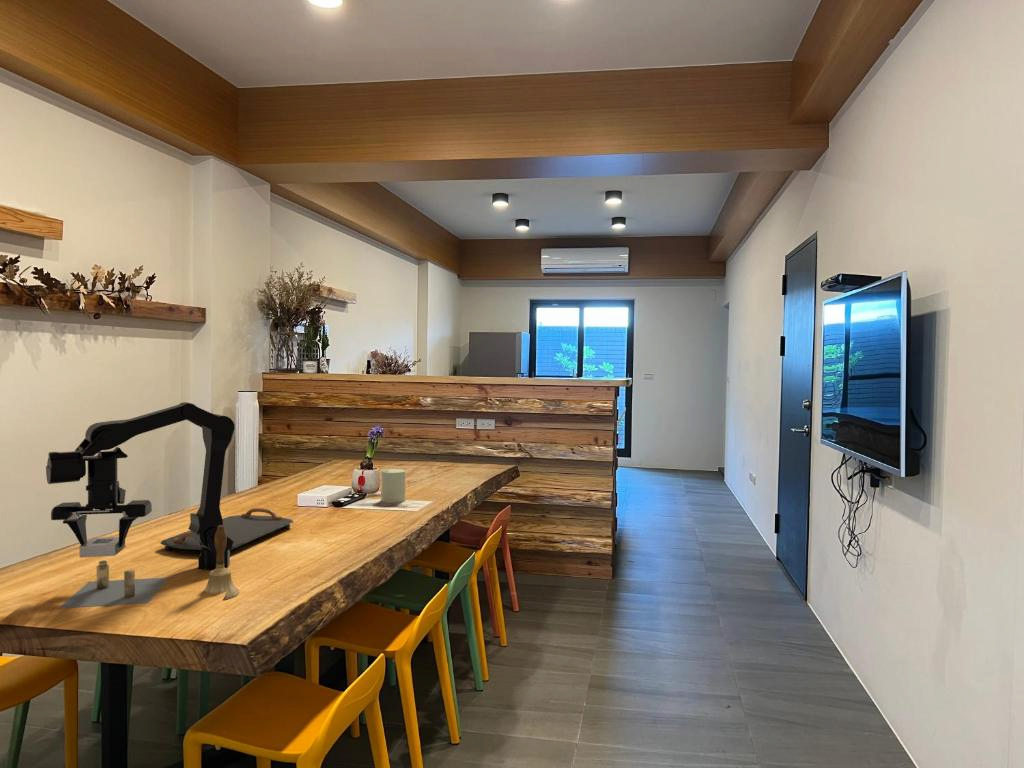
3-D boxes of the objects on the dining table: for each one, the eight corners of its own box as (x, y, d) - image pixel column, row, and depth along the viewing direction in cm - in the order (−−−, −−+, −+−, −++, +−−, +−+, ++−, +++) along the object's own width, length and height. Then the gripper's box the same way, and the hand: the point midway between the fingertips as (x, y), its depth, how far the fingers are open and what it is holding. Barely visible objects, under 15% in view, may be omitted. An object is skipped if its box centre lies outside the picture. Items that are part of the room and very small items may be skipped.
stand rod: (136, 594, 147) (136, 569, 147) (133, 597, 145) (133, 572, 145) (126, 595, 147) (125, 570, 146) (123, 598, 145) (122, 573, 144)
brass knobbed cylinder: (110, 585, 152) (110, 559, 152) (106, 589, 150) (106, 562, 150) (98, 586, 152) (98, 560, 152) (95, 589, 149) (94, 563, 149)
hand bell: (244, 588, 156) (245, 521, 156) (231, 601, 148) (231, 530, 148) (208, 588, 156) (209, 520, 156) (193, 601, 148) (193, 530, 147)
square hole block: (125, 547, 155) (125, 536, 155) (115, 555, 148) (114, 544, 148) (91, 548, 153) (91, 537, 153) (79, 557, 146) (79, 546, 146)
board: (169, 583, 159) (169, 577, 159) (147, 609, 142) (147, 602, 142) (89, 588, 155) (89, 581, 155) (57, 615, 138) (57, 608, 138)
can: (379, 498, 259) (380, 467, 259) (403, 497, 262) (403, 467, 261) (382, 503, 250) (382, 471, 250) (407, 502, 253) (407, 471, 253)
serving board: (224, 561, 178) (224, 538, 178) (150, 554, 183) (150, 532, 183) (300, 526, 216) (300, 507, 216) (236, 521, 221) (236, 503, 220)
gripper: (158, 471, 160) (158, 536, 161) (70, 473, 156) (70, 540, 156) (144, 480, 149) (144, 549, 150) (49, 482, 145) (50, 553, 145)
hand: (103, 547), depth 151 cm, fingers closed on square hole block, 7 cm apart
